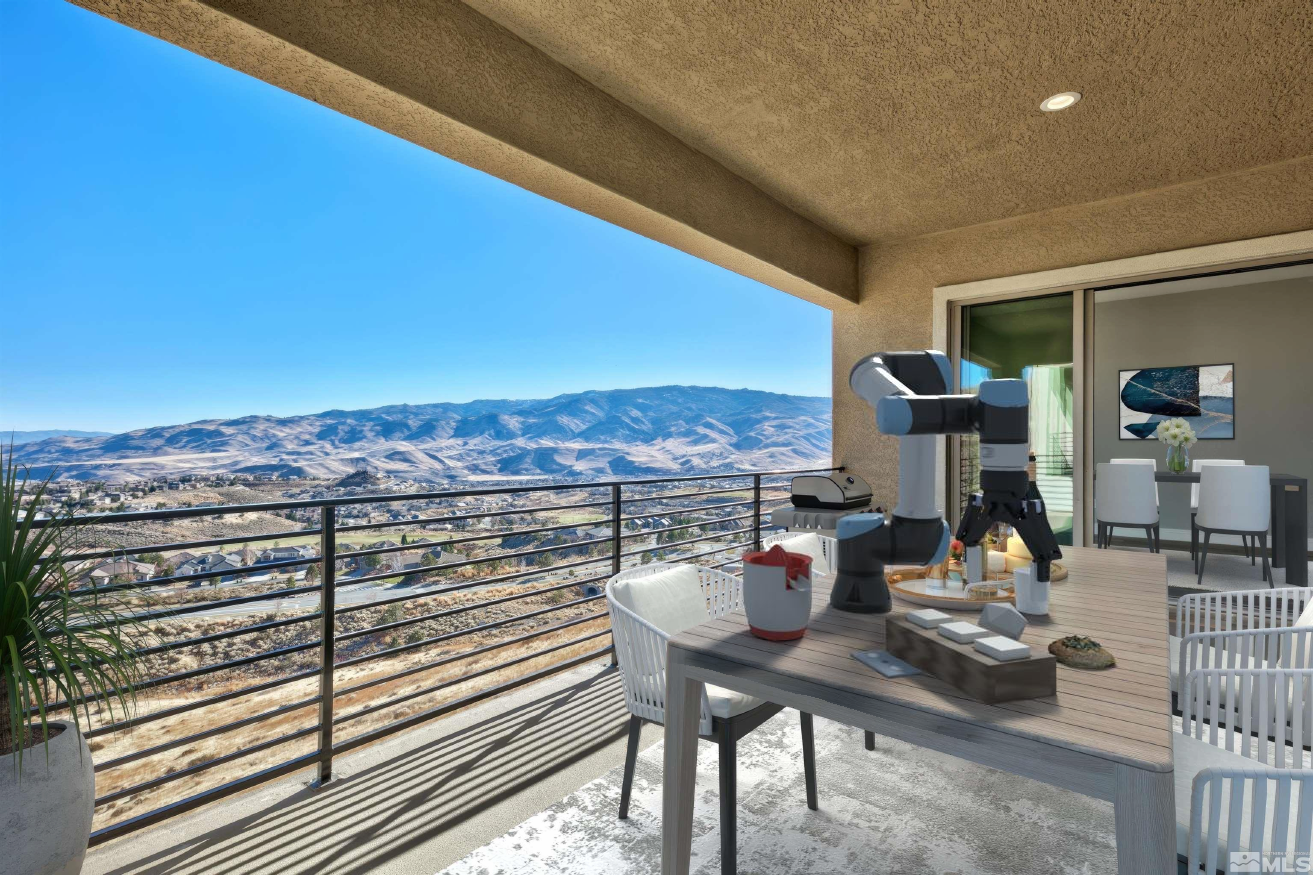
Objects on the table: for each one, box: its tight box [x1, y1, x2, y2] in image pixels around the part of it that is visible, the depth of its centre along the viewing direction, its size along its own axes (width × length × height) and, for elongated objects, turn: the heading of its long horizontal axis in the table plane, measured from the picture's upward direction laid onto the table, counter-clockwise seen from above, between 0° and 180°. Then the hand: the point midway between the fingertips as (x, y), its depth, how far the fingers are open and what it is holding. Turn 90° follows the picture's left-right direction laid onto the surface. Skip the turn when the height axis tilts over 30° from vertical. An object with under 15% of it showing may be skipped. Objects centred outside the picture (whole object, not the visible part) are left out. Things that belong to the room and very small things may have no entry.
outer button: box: [974, 636, 1030, 661], centre depth 109 cm, size 6×6×3 cm
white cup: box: [1013, 566, 1052, 616], centre depth 155 cm, size 8×8×10 cm
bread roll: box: [1047, 634, 1117, 669], centre depth 123 cm, size 11×11×5 cm
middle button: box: [938, 621, 989, 643], centre depth 117 cm, size 6×6×3 cm
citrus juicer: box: [741, 543, 814, 642], centre depth 139 cm, size 16×17×20 cm
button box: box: [885, 612, 1057, 706], centre depth 117 cm, size 27×14×6 cm, turn 16°
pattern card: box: [850, 649, 922, 679], centre depth 121 cm, size 12×7×1 cm, turn 16°
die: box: [976, 602, 1029, 642], centre depth 134 cm, size 8×9×10 cm
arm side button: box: [906, 608, 953, 628], centre depth 126 cm, size 6×6×3 cm
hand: (1004, 591), depth 109 cm, fingers open, 13 cm apart
